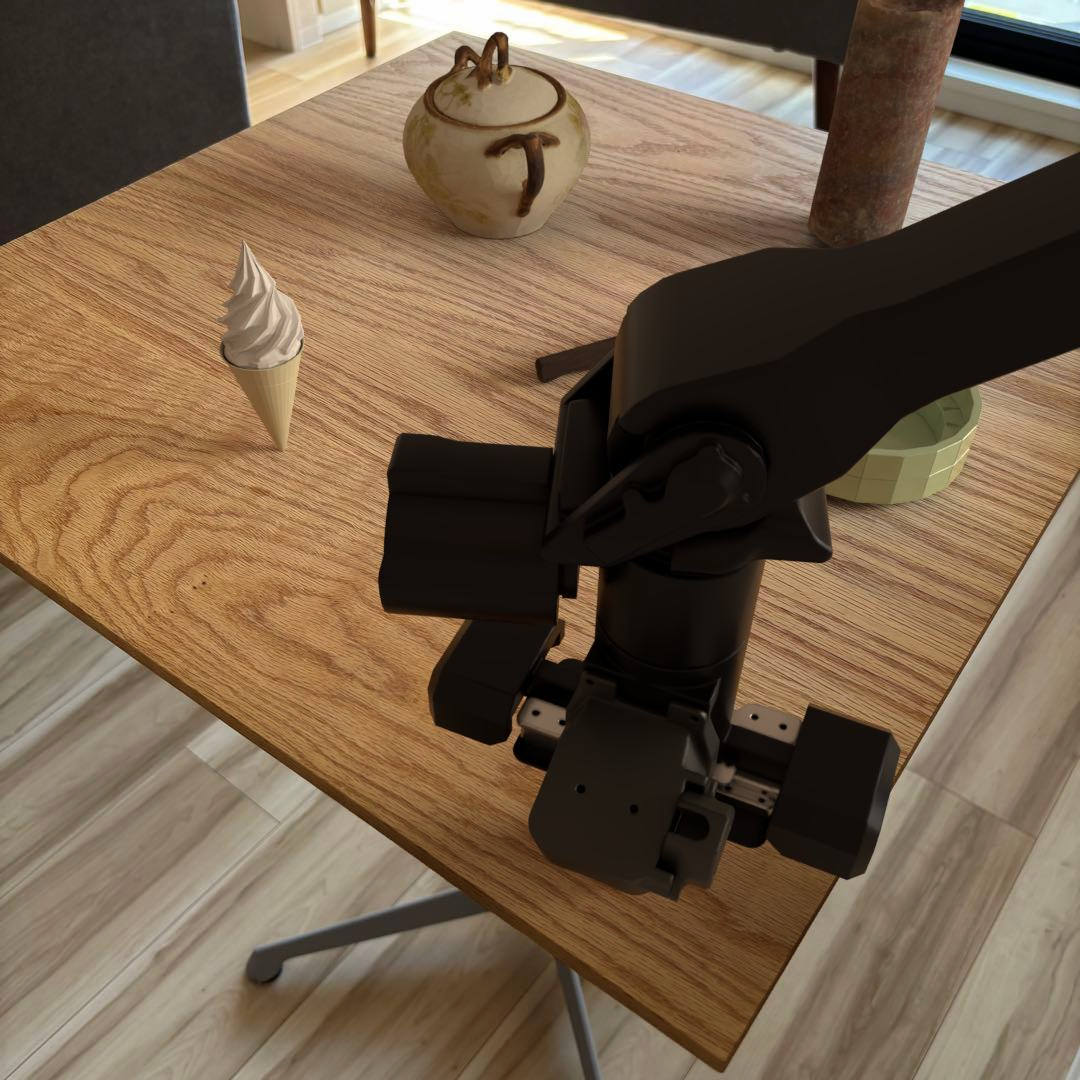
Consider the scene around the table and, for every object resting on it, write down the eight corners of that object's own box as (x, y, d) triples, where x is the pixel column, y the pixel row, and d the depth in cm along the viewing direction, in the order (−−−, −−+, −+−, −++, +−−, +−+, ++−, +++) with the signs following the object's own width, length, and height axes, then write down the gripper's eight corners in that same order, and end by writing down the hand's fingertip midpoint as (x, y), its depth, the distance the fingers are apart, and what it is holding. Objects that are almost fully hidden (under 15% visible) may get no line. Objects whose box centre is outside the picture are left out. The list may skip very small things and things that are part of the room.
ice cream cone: (336, 436, 74) (305, 230, 64) (293, 483, 71) (253, 274, 60) (272, 415, 76) (231, 210, 65) (226, 460, 72) (176, 252, 62)
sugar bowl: (626, 259, 90) (639, 70, 79) (444, 292, 86) (433, 98, 76) (543, 150, 103) (545, -25, 93) (382, 174, 100) (366, -4, 89)
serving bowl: (976, 410, 77) (996, 355, 74) (943, 535, 68) (964, 479, 65) (786, 362, 80) (797, 308, 77) (732, 475, 72) (742, 420, 69)
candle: (917, 256, 91) (989, -6, 77) (838, 274, 89) (898, 8, 75) (864, 211, 96) (923, -42, 82) (788, 227, 94) (835, -30, 80)
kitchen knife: (539, 388, 78) (539, 364, 77) (532, 380, 79) (533, 357, 77) (757, 321, 84) (761, 298, 83) (749, 315, 85) (753, 292, 83)
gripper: (340, 686, 39) (381, 904, 50) (883, 890, 34) (795, 1083, 45) (481, 487, 46) (489, 716, 57) (946, 630, 41) (856, 851, 52)
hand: (642, 832), depth 53 cm, fingers closed on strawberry, 4 cm apart
